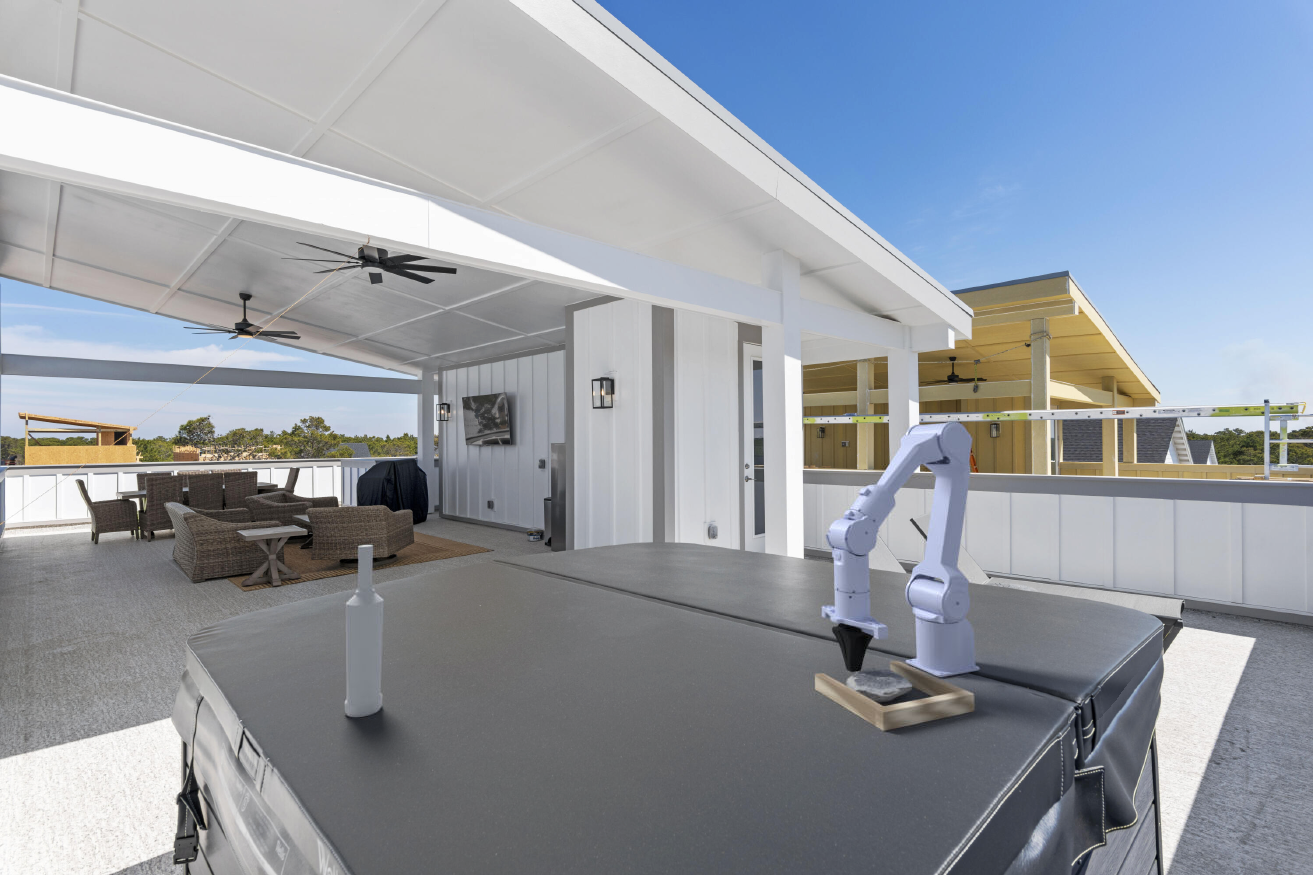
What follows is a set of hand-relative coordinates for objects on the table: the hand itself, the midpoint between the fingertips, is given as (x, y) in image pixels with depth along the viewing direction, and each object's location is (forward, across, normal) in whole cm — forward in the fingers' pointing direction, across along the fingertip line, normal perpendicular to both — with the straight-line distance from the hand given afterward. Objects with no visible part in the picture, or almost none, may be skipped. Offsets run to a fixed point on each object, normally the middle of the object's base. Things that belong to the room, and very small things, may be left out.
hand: (853, 670), depth 97 cm
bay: (+2, +8, 0) cm, 8 cm away
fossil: (+2, +6, 0) cm, 6 cm away
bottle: (+2, -18, -77) cm, 79 cm away
